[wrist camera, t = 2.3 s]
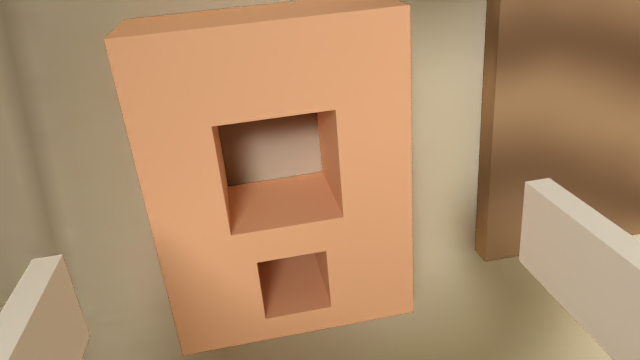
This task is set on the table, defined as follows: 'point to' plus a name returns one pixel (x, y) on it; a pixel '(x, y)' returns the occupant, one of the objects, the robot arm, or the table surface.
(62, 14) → the table surface
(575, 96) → the post board
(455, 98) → the table surface
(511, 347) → the table surface
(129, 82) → the salmon block with slots
